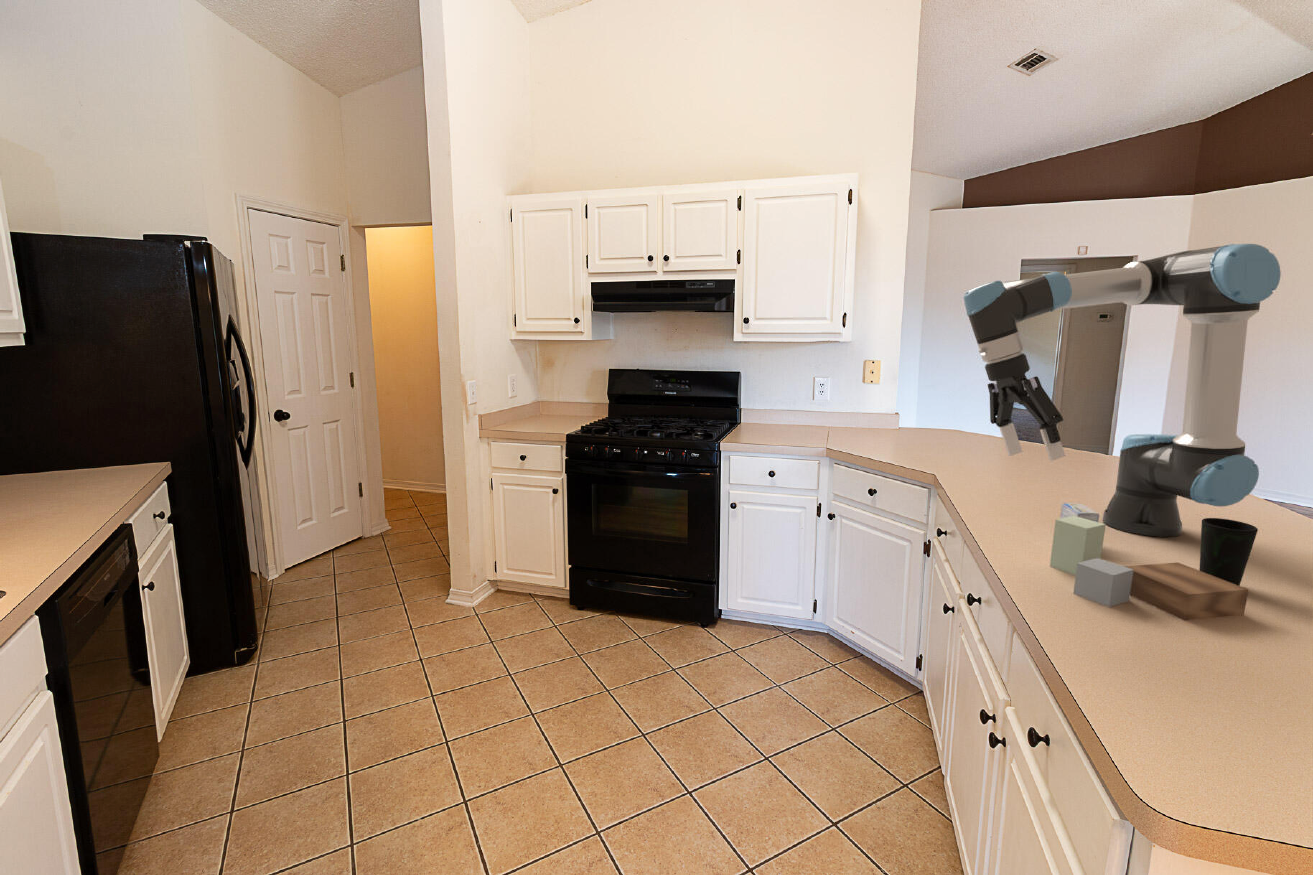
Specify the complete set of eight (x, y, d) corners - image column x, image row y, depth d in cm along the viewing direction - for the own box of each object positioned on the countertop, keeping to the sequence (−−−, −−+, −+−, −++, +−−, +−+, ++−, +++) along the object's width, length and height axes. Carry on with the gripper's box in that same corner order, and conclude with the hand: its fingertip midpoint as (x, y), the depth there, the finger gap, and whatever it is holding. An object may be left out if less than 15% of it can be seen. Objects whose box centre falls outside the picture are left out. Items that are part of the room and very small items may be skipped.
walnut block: (1173, 587, 114) (1177, 562, 113) (1243, 616, 102) (1248, 589, 102) (1118, 591, 112) (1122, 566, 111) (1183, 622, 101) (1188, 594, 100)
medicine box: (1095, 551, 131) (1100, 513, 130) (1072, 550, 132) (1077, 512, 131) (1078, 539, 139) (1083, 503, 137) (1056, 538, 140) (1061, 502, 138)
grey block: (1093, 588, 113) (1097, 557, 112) (1128, 601, 108) (1133, 569, 107) (1073, 593, 111) (1077, 563, 110) (1108, 607, 105) (1113, 575, 104)
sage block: (1068, 561, 126) (1074, 515, 124) (1098, 572, 120) (1105, 524, 119) (1049, 566, 123) (1055, 519, 121) (1080, 577, 118) (1087, 528, 116)
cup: (1232, 579, 117) (1243, 520, 115) (1255, 595, 110) (1268, 532, 108) (1183, 573, 119) (1193, 516, 117) (1203, 589, 112) (1214, 528, 110)
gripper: (955, 368, 135) (984, 457, 136) (1024, 358, 110) (1058, 467, 111) (987, 357, 135) (1016, 446, 136) (1062, 344, 110) (1097, 453, 111)
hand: (1035, 456), depth 124 cm, fingers open, 13 cm apart
